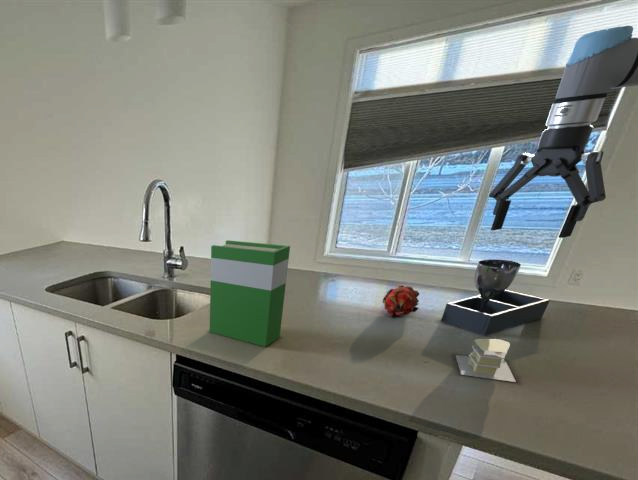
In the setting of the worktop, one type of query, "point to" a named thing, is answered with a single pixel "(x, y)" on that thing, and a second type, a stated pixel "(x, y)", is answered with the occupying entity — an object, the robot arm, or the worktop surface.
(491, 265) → the wine glass
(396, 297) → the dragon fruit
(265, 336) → the hardback book
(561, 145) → the robot arm
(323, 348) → the worktop surface
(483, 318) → the divided tray
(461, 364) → the stacked layers on plate
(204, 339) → the worktop surface
